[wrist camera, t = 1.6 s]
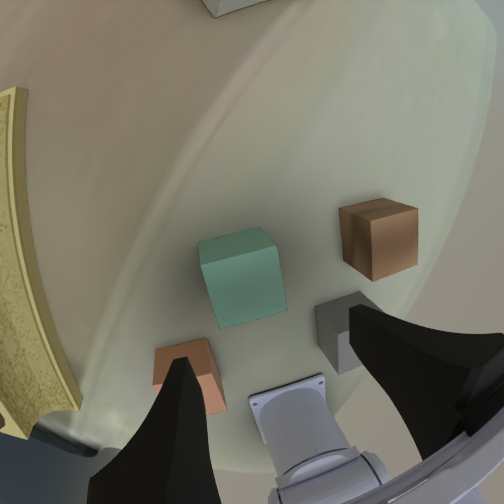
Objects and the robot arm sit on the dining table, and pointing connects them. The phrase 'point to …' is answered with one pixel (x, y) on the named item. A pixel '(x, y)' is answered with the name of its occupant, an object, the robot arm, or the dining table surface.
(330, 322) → the charcoal block
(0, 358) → the decorative clock
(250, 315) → the green block
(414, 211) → the walnut block
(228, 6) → the small box
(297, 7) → the dining table surface
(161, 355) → the terracotta block
